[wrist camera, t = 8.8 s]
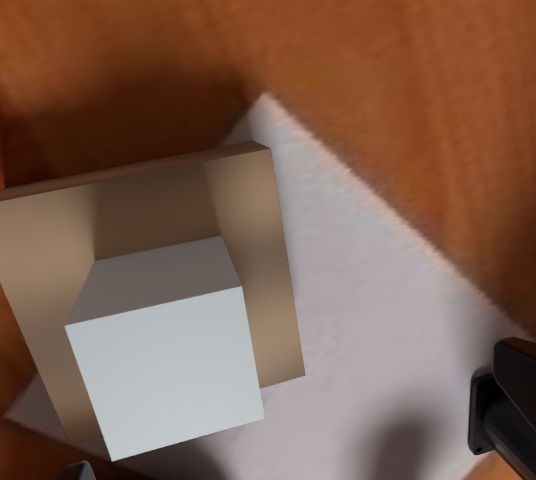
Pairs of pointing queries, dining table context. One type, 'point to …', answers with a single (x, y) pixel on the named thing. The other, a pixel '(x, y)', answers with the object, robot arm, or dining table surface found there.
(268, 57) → the dining table surface
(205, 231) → the brown boxy piece
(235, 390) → the grey cube
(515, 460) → the robot arm
